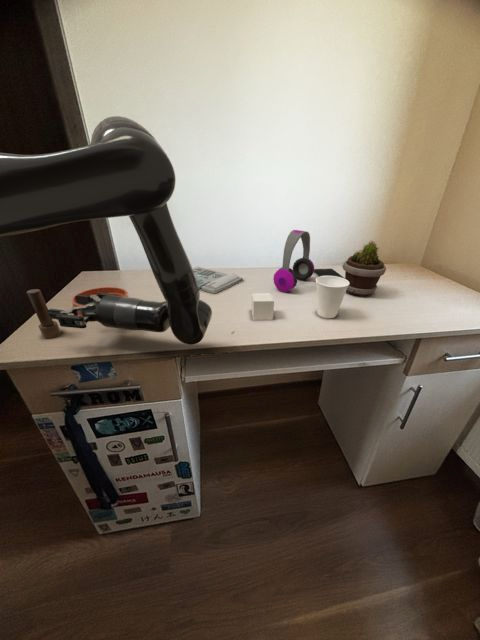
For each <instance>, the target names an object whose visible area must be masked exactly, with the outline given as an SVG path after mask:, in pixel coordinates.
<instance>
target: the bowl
mask: <svg viewBox="0 0 480 640" xmlns="http://www.w3.org/2000/svg"><path fill="white" fill-rule="evenodd" d="M99 292H101V293H109V294H116V295H118V296H122V297H130V296H129V293H128V291H127V290H126V289H124V288H122V287H117V286H102V287H101V286H100V287H95V288H94V287H93V288H90V289H86V290H83V291H81V292H78V293H75V294H74V295H73V296H72V298H71V299H70V301H71V304H72V308H73V307H77V306H84V305H85V304H78V303H77V301H76V298H75V296H76V295H86V296H90V295H95V296H96V295H97V293H99ZM78 314H79V315H80V316H83V315H82V313H81V310H79V311H78Z"/></svg>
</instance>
